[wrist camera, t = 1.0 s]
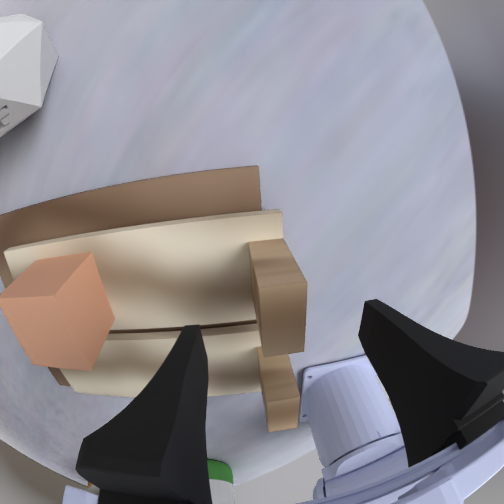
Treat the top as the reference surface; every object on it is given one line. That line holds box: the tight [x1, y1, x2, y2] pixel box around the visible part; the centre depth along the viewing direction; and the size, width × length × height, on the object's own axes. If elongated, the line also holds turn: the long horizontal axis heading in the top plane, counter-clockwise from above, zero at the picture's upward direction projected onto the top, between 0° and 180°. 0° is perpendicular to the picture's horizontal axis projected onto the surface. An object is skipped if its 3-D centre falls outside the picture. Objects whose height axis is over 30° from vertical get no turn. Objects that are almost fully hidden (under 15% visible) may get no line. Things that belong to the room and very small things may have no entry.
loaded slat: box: [4, 209, 307, 358], centre depth 14 cm, size 7×20×6 cm, turn 94°
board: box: [0, 166, 262, 386], centre depth 18 cm, size 18×22×1 cm
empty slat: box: [59, 323, 300, 432], centre depth 17 cm, size 7×20×6 cm, turn 94°
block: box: [0, 252, 115, 371], centre depth 14 cm, size 5×5×5 cm
